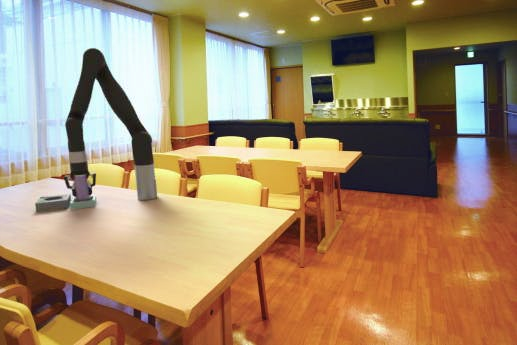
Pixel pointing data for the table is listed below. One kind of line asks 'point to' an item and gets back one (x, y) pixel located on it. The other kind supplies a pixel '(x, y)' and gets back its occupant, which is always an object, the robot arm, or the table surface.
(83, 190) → the beverage can
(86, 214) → the table surface
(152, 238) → the table surface
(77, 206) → the teal square frame
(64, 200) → the port
